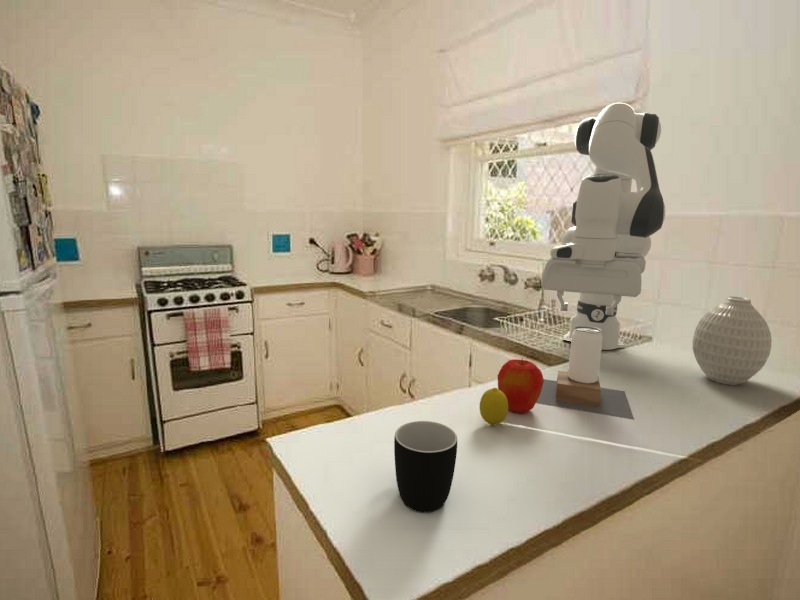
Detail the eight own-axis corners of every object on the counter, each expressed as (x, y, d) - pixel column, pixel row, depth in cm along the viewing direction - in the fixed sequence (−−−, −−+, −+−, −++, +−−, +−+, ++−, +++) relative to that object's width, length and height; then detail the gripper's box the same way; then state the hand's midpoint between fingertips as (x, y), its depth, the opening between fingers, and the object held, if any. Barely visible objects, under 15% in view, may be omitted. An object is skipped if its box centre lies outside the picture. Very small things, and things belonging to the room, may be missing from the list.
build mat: (530, 378, 112) (530, 377, 112) (624, 392, 105) (624, 391, 105) (524, 402, 98) (524, 400, 98) (633, 421, 90) (634, 419, 90)
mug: (466, 508, 62) (470, 443, 60) (410, 527, 58) (413, 458, 56) (423, 465, 72) (426, 408, 70) (374, 478, 68) (375, 418, 66)
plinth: (556, 385, 107) (558, 370, 106) (596, 392, 104) (598, 376, 103) (555, 399, 99) (557, 383, 98) (598, 407, 96) (601, 390, 95)
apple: (487, 409, 94) (491, 356, 91) (511, 398, 100) (515, 348, 97) (525, 425, 87) (530, 368, 85) (548, 412, 93) (553, 359, 91)
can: (602, 385, 98) (608, 333, 95) (573, 383, 98) (578, 332, 95) (590, 374, 104) (596, 326, 102) (563, 373, 104) (568, 325, 102)
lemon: (475, 428, 85) (478, 390, 84) (481, 417, 90) (483, 380, 89) (504, 434, 83) (507, 395, 82) (508, 422, 88) (511, 385, 87)
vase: (745, 397, 104) (762, 306, 100) (675, 375, 118) (688, 294, 114) (774, 385, 113) (791, 301, 108) (705, 365, 126) (718, 290, 122)
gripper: (644, 252, 94) (636, 314, 97) (545, 247, 101) (540, 305, 104) (649, 255, 88) (640, 320, 91) (544, 249, 95) (538, 311, 98)
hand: (586, 312), depth 98 cm, fingers open, 8 cm apart
